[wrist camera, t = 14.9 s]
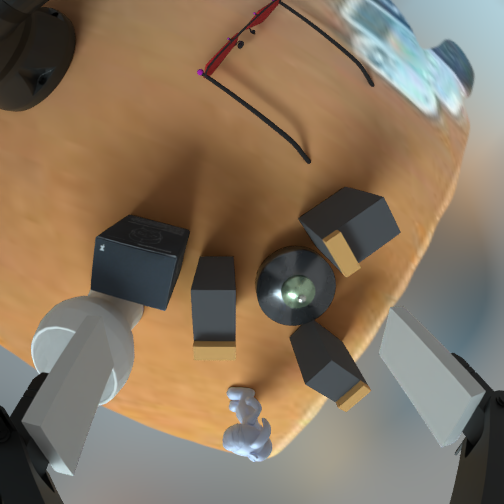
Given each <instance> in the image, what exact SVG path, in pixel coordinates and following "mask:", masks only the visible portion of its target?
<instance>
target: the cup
mask: <svg viewBox="0 0 504 504" xmlns="http://www.w3.org/2000/svg"><path fill="white" fill-rule="evenodd" d="M143 310H144V307H143V305H142V304H138V303H134V302H130V301H127V300H124V299H120V298H116V297H113V296H110V295H106V294H103V293H100V292H96V291H93V290H90V292H89V294H88V296H79V297H74V298H71V299H68V300H65V301H62V302H61V303H59V304H57V305H55V306H54V307H53V308H52V309H51V310H50V311H49V312H48V313H47V314H46V315H45V317H44V318H43V319H42V320H41V322H40V324H39V326H38V328H37V330H36V333H35V335H34V337H33V341H32V344H31V354H32V359H33V362H34V365H35V367H36V369H37V371H38V373H39V374H40V373H42V372H45V373H50V371H51V369H52V368H53V366H54V365H55V363H56V361H57V360H58V358H59V357H60V355H61V354H62V352H63V350H64V349H65V347H66V346H67V344H68V343H69V341H70V340H71V338H72V337H73V335H74V334H75V332H76V331H77V329H78V328H79V326H80V325H81V323H82V322H83V321H84V319H85V318H86V316H87V315H91V316H102V318H103V322H104V327H105V331H106V335H107V339H108V343H109V347H110V351H111V355H112V359H113V362H114V367H113V369H112V372H111V374H110V377H109V379H108V382H107V384H106V387H105V389H104V392H103V394H102V397H101V399H100V402H99V405H103V404H106V403H107V402H109V401H110V400H111V399H113V398H114V396H115V395H116V394H117V393H118V392H119V391H120V390H121V388H122V387H123V386H124V384H125V383H126V381H127V380H128V377H129V375H130V372H131V370H132V367H133V362H134V341H133V334H132V331H131V330H132V329H133V328H134V327H135V326H136V324H137V323H138V322H139V320H140V319H141V317H142V314H143ZM99 405H98V406H99Z"/></svg>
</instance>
